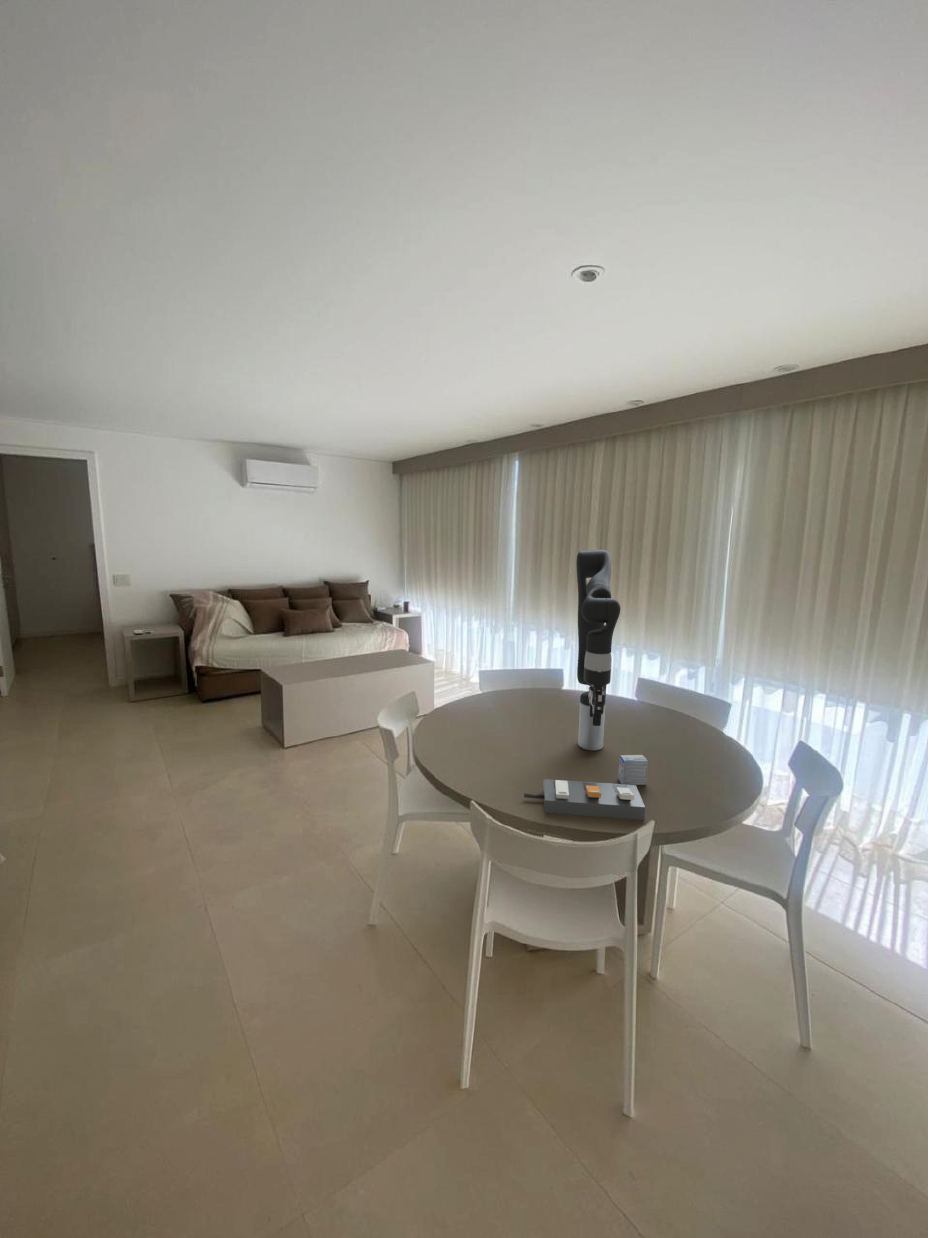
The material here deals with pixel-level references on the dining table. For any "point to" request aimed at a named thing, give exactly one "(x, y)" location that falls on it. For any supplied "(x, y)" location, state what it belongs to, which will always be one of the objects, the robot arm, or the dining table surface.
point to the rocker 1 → (562, 789)
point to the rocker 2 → (593, 791)
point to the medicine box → (633, 769)
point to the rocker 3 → (625, 793)
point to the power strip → (592, 801)
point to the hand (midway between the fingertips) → (594, 720)
